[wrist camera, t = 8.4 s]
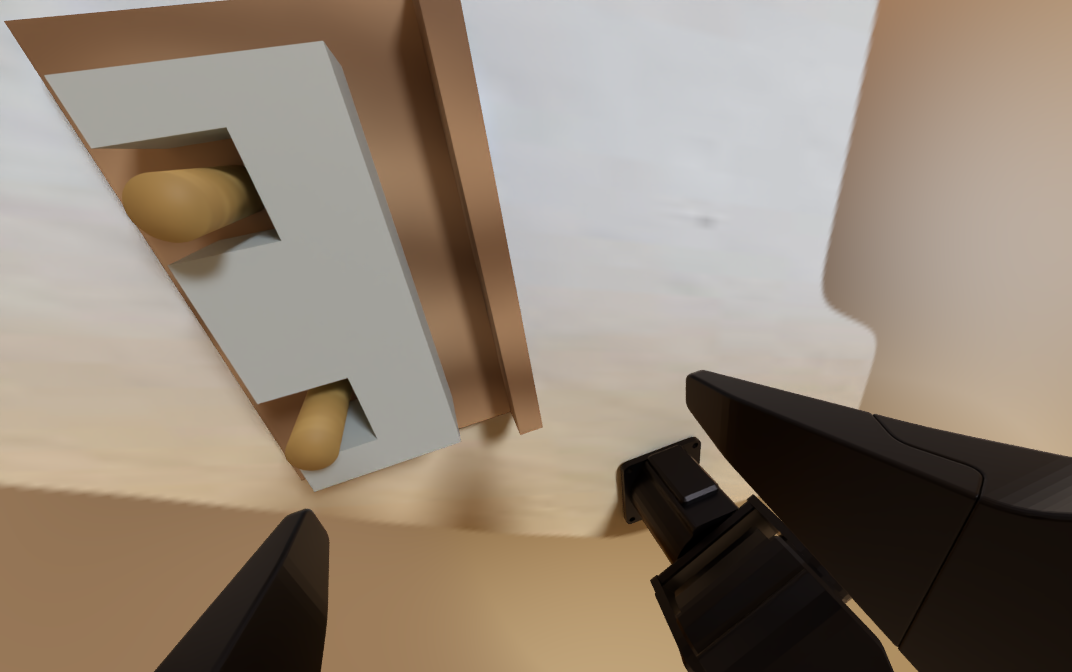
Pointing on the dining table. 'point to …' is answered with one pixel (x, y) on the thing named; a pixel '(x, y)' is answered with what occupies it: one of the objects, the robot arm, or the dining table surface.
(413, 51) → the board
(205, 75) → the grey notched panel
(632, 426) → the dining table surface
